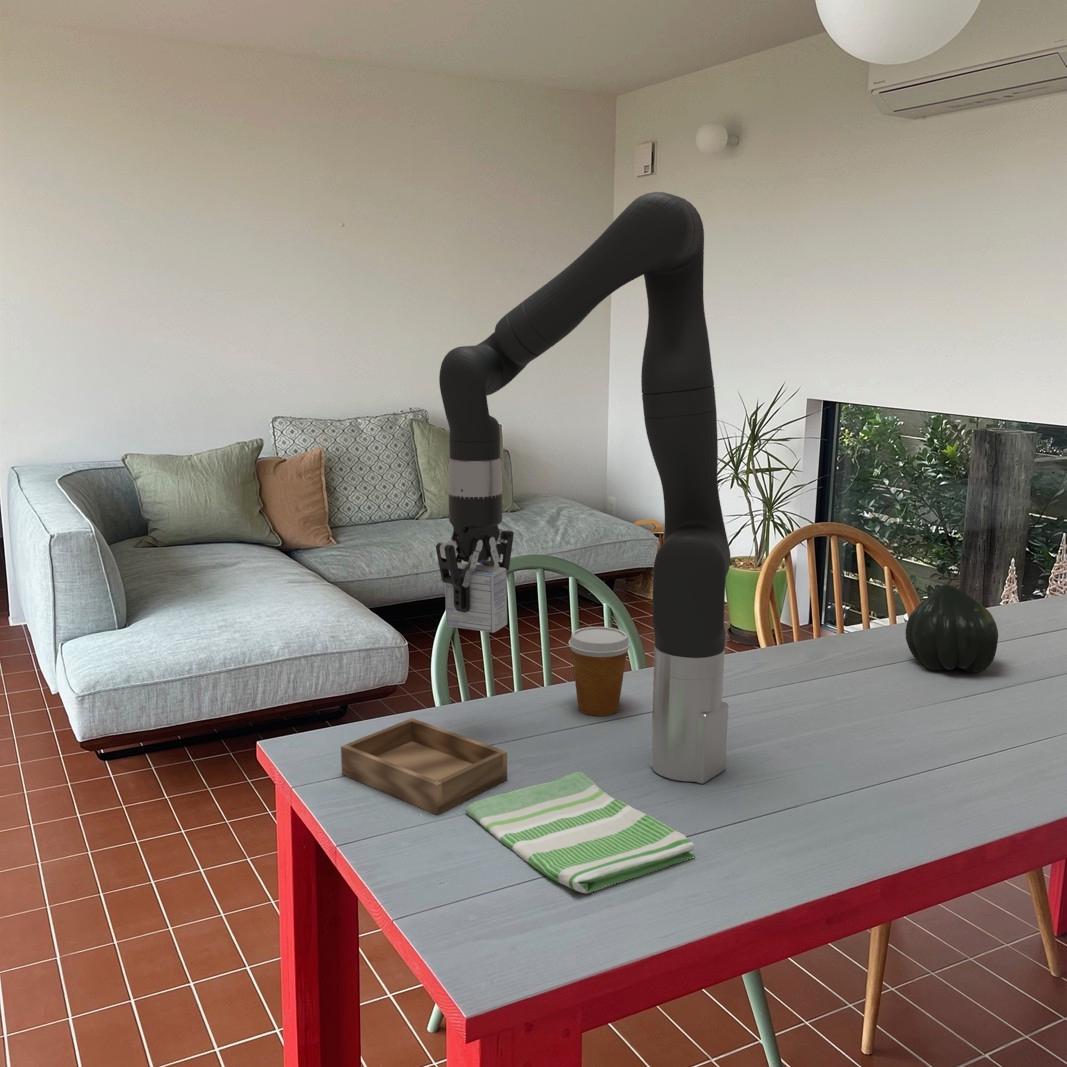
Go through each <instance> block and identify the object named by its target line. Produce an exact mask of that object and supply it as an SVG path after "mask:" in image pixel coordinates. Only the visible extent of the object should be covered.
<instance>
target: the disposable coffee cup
mask: <svg viewBox="0 0 1067 1067" xmlns="http://www.w3.org/2000/svg"><path fill="white" fill-rule="evenodd" d="M568 646H569V647H570V651H571V655H572V663H573V666H572V667H573V672H574V682H575V684H574V685H575V691H576V700H577V709H578V710H579V712H582V713H583V714H586V715H589V714H590V716H608V715H612V714H615V713H617V712H618V711H619V707H620V700H621V693H622V687H623V686H622V685H623V680H624V672H625V667H626V660H627V654H628V652H629V648H630V646H631V642H630V640H629V637H628V634H627V633H626V632H625V631H623V630H621V629H618V628H616V627H615V628H614V627H607V626H587V627H582V628H579V629H576V630H574V631H573V632H572V633H571V636H570V639H569V640H568Z"/></svg>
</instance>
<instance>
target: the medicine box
mask: <svg viewBox="0 0 1067 1067" xmlns="http://www.w3.org/2000/svg"><path fill="white" fill-rule="evenodd" d="M462 564H467V562H466V563H463V562H462ZM463 572H464V570H462V571H461V575H460V577H461V578H462V576H463ZM449 574H450V571H449ZM444 584H445V586H444V587H445V588H444V590H445V592H444V593H445V595H444V596H445V626H446V627H449V628H457V629H458V628H459V629H464V630H470V631H471V630H472V631H479V632H487V633H492V634H493V633H496V632H497V631H500V630H501V629H503V628H505V626H507V625H508V602H507V601H508V597H507V596H508V595H507V591H508V590H507V587H508V586H507V572H506V569H505V568H501V567H492V566H485V565H481V564H477V565H476V569H475V571H474V572H472V574H471V578H470V582H469V585H468V587H470V611H468V612H465V613H464V612H460V611H457V610H456V608H455V607H454V588H453V585H452V584H448V583H444Z"/></svg>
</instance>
